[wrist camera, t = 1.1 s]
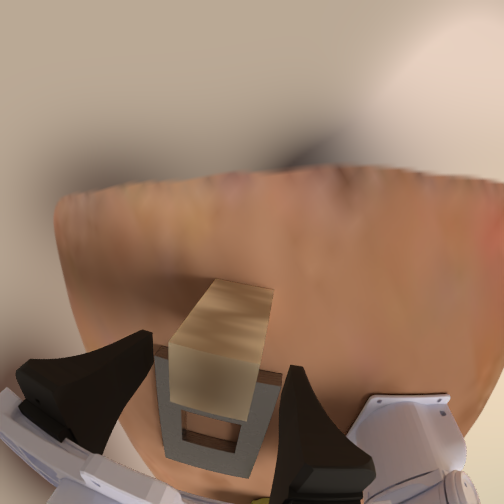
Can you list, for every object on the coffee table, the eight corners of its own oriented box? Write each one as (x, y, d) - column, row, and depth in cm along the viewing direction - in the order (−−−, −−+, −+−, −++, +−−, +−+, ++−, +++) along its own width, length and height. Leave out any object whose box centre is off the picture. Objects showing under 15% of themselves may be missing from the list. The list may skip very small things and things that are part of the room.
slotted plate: (282, 374, 20) (281, 386, 19) (250, 469, 25) (248, 478, 23) (161, 345, 21) (154, 355, 19) (169, 448, 26) (165, 457, 24)
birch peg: (274, 289, 18) (260, 364, 11) (263, 338, 19) (246, 421, 12) (215, 278, 19) (168, 341, 11) (210, 327, 20) (170, 401, 12)
